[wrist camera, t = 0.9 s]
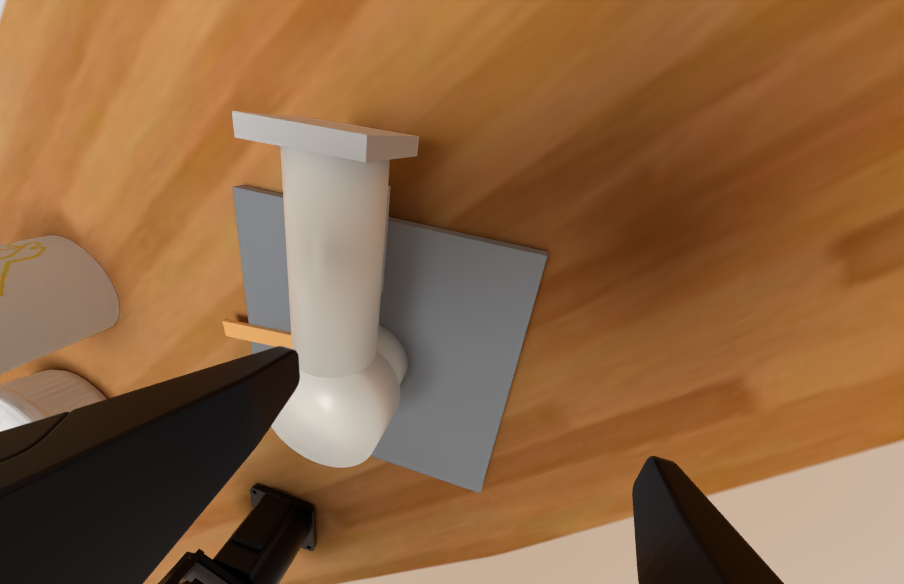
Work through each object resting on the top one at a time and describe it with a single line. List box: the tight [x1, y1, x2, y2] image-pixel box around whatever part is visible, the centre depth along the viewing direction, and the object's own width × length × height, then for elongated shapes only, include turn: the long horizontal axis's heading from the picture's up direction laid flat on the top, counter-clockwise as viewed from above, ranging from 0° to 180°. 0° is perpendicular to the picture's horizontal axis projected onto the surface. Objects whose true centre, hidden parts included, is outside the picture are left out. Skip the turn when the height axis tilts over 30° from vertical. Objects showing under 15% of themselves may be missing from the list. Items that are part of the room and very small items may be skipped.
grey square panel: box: [223, 185, 547, 493], centre depth 22 cm, size 20×20×3 cm
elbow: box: [232, 111, 419, 468], centre depth 17 cm, size 17×6×5 cm, turn 171°
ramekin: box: [0, 370, 107, 432], centre depth 33 cm, size 11×11×5 cm
